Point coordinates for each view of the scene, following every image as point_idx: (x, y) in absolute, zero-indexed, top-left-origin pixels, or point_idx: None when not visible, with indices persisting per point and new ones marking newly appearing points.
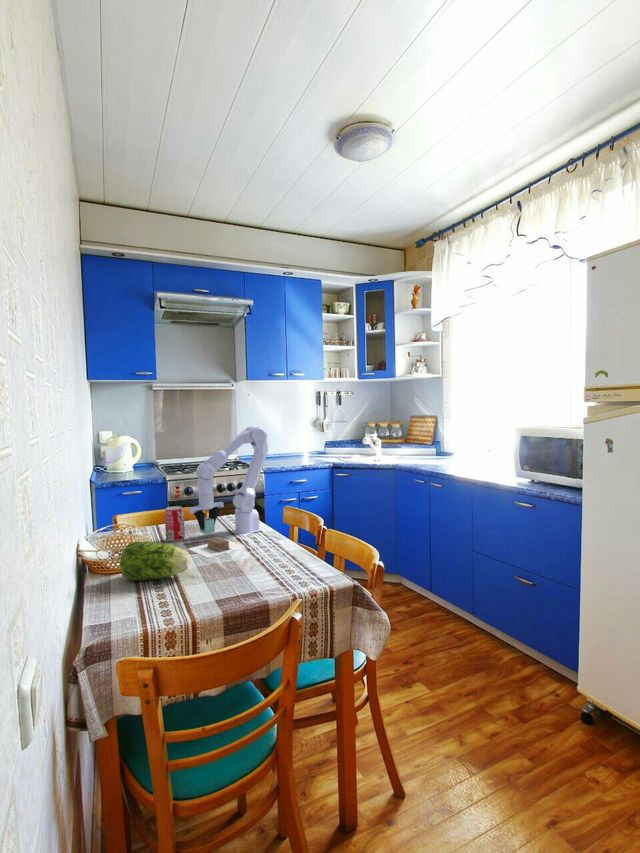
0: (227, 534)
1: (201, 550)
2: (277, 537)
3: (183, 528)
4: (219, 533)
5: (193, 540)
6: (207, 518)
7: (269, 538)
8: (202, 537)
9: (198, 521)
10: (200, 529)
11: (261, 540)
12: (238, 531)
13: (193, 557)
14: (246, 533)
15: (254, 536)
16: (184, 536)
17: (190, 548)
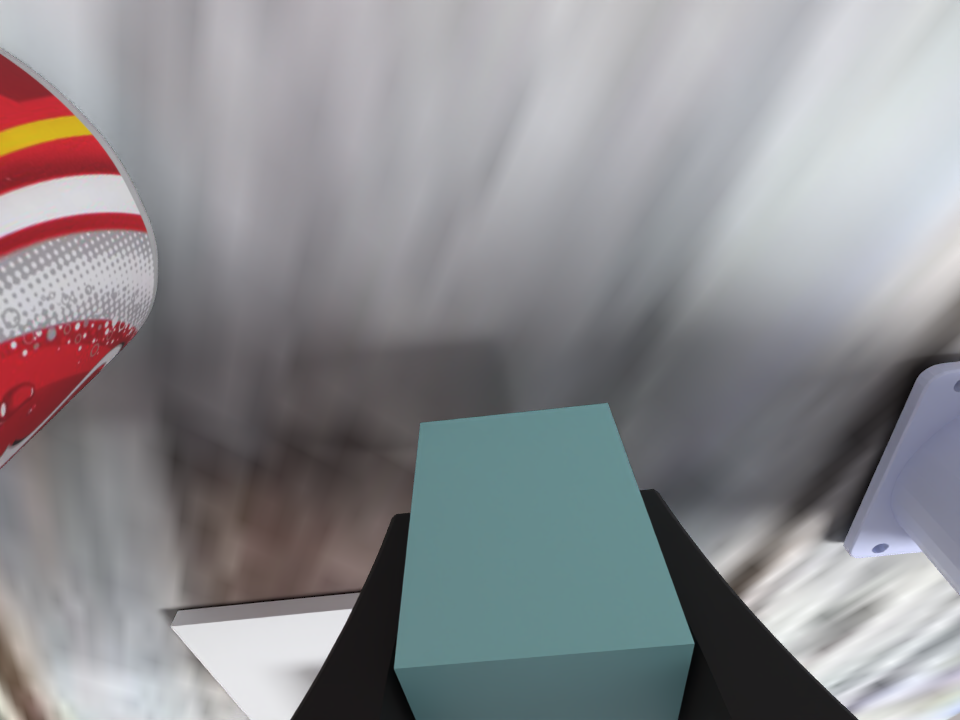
0: (812, 403)
1: (287, 692)
2: (953, 679)
3: (11, 456)
4: (791, 290)
5: (305, 376)
6: (608, 680)
7: (898, 671)
8: (473, 323)
9: (335, 673)
10: (418, 461)
11: (816, 677)
12: (905, 515)
13: (210, 715)
14: (919, 548)
15: (895, 595)
16: (138, 324)
17: (202, 631)
